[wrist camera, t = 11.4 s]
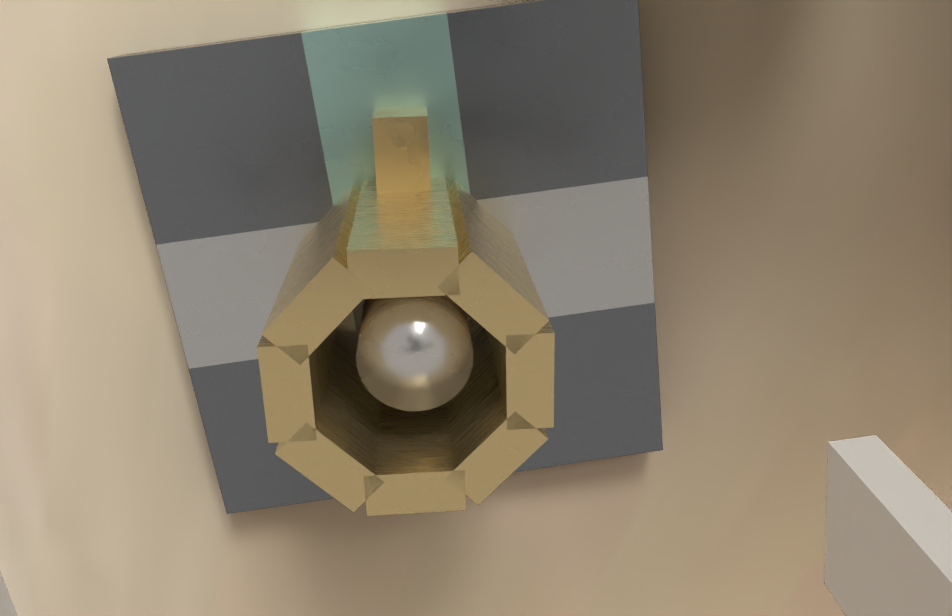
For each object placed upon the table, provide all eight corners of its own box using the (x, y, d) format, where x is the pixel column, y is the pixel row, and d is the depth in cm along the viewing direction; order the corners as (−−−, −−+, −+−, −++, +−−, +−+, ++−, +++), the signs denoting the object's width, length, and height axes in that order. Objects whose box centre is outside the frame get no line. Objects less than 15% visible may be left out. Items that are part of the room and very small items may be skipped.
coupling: (283, 111, 27) (235, 160, 20) (516, 104, 27) (556, 148, 20) (315, 444, 31) (286, 591, 24) (518, 433, 31) (552, 573, 24)
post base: (625, -13, 28) (712, -12, 20) (652, 430, 34) (728, 569, 26) (122, 54, 27) (5, 83, 20) (234, 491, 33) (179, 651, 25)
